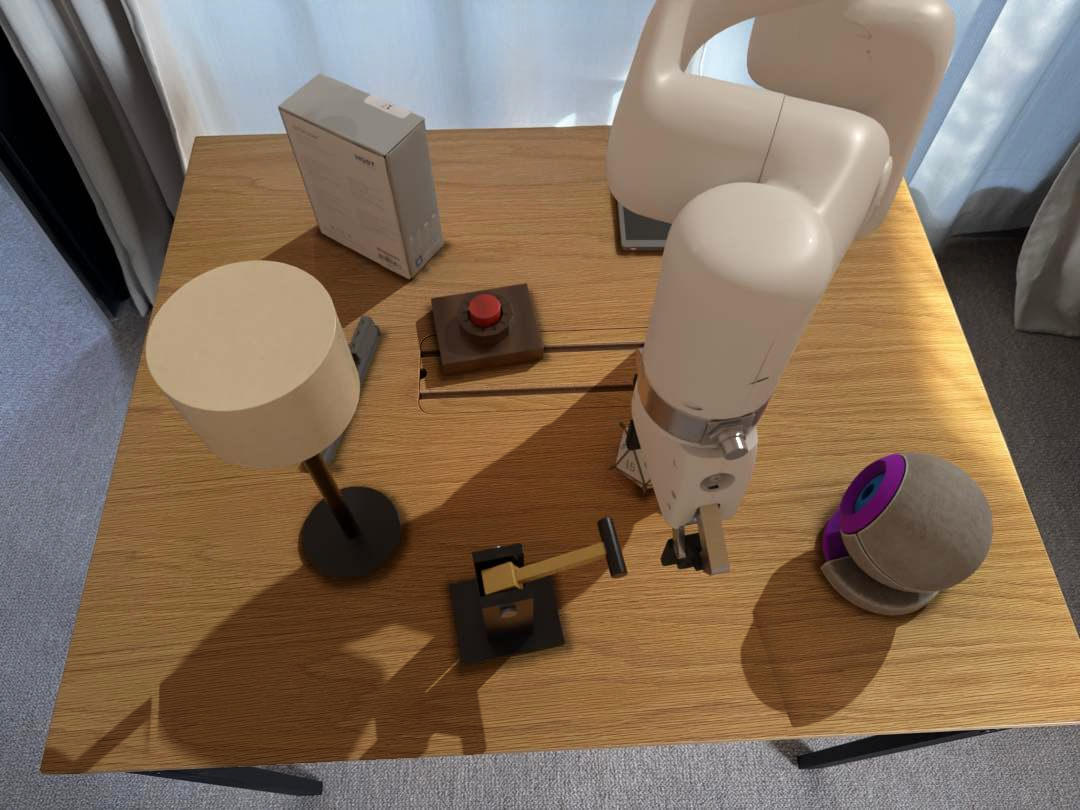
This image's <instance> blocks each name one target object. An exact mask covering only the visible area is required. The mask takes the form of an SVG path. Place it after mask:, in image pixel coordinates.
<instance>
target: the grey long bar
mask: <svg viewBox="0 0 1080 810" xmlns="http://www.w3.org/2000/svg"><path fill="white" fill-rule="evenodd" d="M381 337H382V333H381V329H380V327H379V325H377V324H376V323H375V321H374V320H373V318H372V317H371V316H368V315H362V314H361V316H360V318H359V321H358V323H357V326H356V328H355V331H354V333H353V335H352V338H351V340H350V343H349V344H348V346H349V349H350V352H351V355H352V357H353V360H354V363H355V366H356V369H357V371H358V375H359V380H360V389H361V387H362V385H363V382H364V380H365V378H366V374H367V372H368V369H369V366H370V364H371V361H372V359H373V356H374V354H375V352H376V349H377V346H378V343H379V341H380V338H381ZM344 432H345V430H344V431H343V432H342V434H341V435H340V436H339V437H338V438H337V439H336V440H335V441H334V442H333V443H332V444H330V445H329V446H328V447H327V448H325V449H324V450H323V451H321V452H320V453H321V455H322V457H323V459H324V461H325V463H326V465H327V467H328V468H329V465H330V464H332V463H333V460H334V458H335V455H336V452H337V450H338V447H339V445H340V442H341V439H342V437H343V435H344Z"/></svg>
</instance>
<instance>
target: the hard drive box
mask: <svg viewBox="0 0 1080 810" xmlns="http://www.w3.org/2000/svg"><path fill="white" fill-rule="evenodd" d="M277 108H278V109H277V110H278V112H279V115H280V117H281V121H282V124H283V127H284V129H285V132H286V135H287V138H288V141H289V144H290V147H291V151H292V154H293V155H294V158H295V161H296V164H297V167H298V170H299V173H300V176H301V179H302V182H303V186H304V187H305V191H306V194H307V196H308V200H309V202H310V206H311V208H312V211H313V214H314V218H315V219H316V223H317V226H318V228H319V231H320V233H321V234H323V235H325V236H327V237H328V238H330V239H331V240H333V241H335V242H337V243H339V244H341V245H342V246H344V247H347V248H349V249H351V250H352V251H355V252H357V253H358V254H360V255H362V256H363V257H366V258H368V259H369V260H372V261H373V262H375V263H377V264H379V265H381V266H382V267H384V268H386V269H387V270H389V271H391V272H394V273H395V274H397V275H399V276H402V277H403V278H405V279H407V280H411V279H413V278H414V277H415V276H416V275H417V274H418V273H419V272H420V271H421V270H422V269H423V268H424V267H425V266H426V264H427V263H428V262H429V261H430V260H431V259H432V258H433V257H434V256H435V255H436V254H437V253H438V252H439V251H440V249H441V248H442V247H443V246H444V245H445V242H444V235H443V229H442V223H441V217H440V216H441V215H440V210H439V204H438V203H439V202H438V198H437V197H438V196H437V191H436V184H435V178H434V172H433V166H432V159H431V152H430V146H429V140H428V133H427V126H426V117H424V116H423V115H419V114H417V113H415V112H413V111H411V110H408V109H406V108H403V107H402V106H399V105H397V104H394V103H392V102H389V101H387V100H386V99H382V98H380V97H378V96H376V95H374V94H371V93H369V92H366V91H364V90H362V89H359V88H357V87H355V86H352V85H350V84H348V83H345V82H343V81H340V80H338V79H336V78H334V77H331V76H329V75H328V74H327V75H326V74H325V73H322V72H319V73H318V74H316V75H315V76H314V77H313V78H311V79H310V80H309V81H308V82H306V83H305V84H304V85H302V87H300V88H299V89H298V90H297V91H295V92H294V93H292V94H291V95H290V96H289V97H288V98H286V99H285V100H284V101H283V102H281V103H280V104H279V105H278V106H277Z"/></svg>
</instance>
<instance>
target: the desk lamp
mask: <svg viewBox="0 0 1080 810" xmlns="http://www.w3.org/2000/svg"><path fill="white" fill-rule="evenodd" d="M145 341H146V342H145V360H146V366H147V368H148V371H149V374H150V376H151V378H152V379H153V381H154V382H155V384H156V385H157V387H158V388H159V389H160V390H161V392H162V393H163V394H164V396H165V397H166V398H167V400H168V401H169V402H170V403H171V405H172V406H173V407H174V408H175V410H176V411H177V412H178V413H179V414H180V416H181V417H182V418H183V420H184V421H185V422H186V423H187V425H188V426H189V427H190V429H191V430H192V431H193V432H194V433H195V435H196V436H197V437H198V439H199V440H200V441H201V443H202V444H203V445H204V446H205V447H206V448H207V449H208V450H209V451H210V452H211V453H212V454H213V455H215V457H217V458H219V459H220V460H222V461H224V462H226V463H228V464H230V465H232V466H233V465H234V466H235V467H239V468H244V469H250V470H276V469H282V468H287V467H291V466H293V465H297V464H299V463H302V464H303V465H304V467H305V469H306V470H307V472H308V474H309V476H310V478H311V479H312V481H313V482H314V484H315V486H316V488H317V490H318V491H319V493H320V495H321V496H322V499H321V500H319V501H318V503H317V504H315V506H314V507H313V508H312V509H311V511H310V512H309V514H308V516H307V518H306V520H305V522H304V526H303V530H302V545H303V550H304V552H305V555H306V557H307V559H308V561H309V562H310V563H311V564H312V566H313V567H314V568H315V569H316V570H318V571H319V572H320V573H322V574H323V575H325V576H327V577H328V578H332V579H336V580H341V581H352V580H358V579H362V578H365V577H368V576H371V575H372V574H375V573H376V572H377V571H379V570H380V569H382V568H383V567H384V566H385V565H386V564H388V562H389V561H390V560H391V559H392V557H393V556H394V554H395V553H396V551H397V549H398V547H399V545H400V542H401V538H402V530H403V529H402V520H401V516H400V513H399V511H398V509H397V507H396V505H395V504H394V502H393V501H392V500H391V499H390V498H389V497H388V496H387V495H386V494H384V493H383V492H382V491H379V490H377V489H374V488H372V487H367V486H348V487H343V488H339V486H338V484H337V482H336V479H334V476H333V474H332V473H331V471H330V469H329V466H328V467H327V465H328V464H327V465H326V463H325V461H324V459H323V457H322V455H321V453H320V452H321V451H323V450H324V449H325V448H327V447H328V446H329V445H330V444H332V443H333V442H334V441H335V440H336V439H337V438H338V437H339V436H340V435H341V434H342V432H343V431H344V432H345V430H346V429H347V427H348V426H349V424H350V423H351V421H352V419H353V417H354V415H355V413H356V410H357V409H358V408H357V407H358V404H359V400H360V394H361V388H360V380H359V375H358V371H357V369H356V366H355V363H354V360H353V357H352V355H351V352H350V349H349V344H348V341H347V339H346V336H345V332H344V330H343V327H342V324H341V322H340V319H339V316H338V313H337V310H336V308H335V305H334V302H333V299H332V297H331V295H330V294H329V292H328V291H327V289H326V288H325V287H324V285H323V284H322V283H321V282H320V281H319V280H318V279H316V277H314V276H313V275H311V274H310V273H308V272H306V271H305V270H303V269H300V268H299V267H297V266H295V265H291V264H288V263H284V262H279V261H276V260H275V261H273V260H244V261H237V262H232V263H228V264H225V265H221V266H217V267H214V268H213V269H209V270H208V271H205V272H204V273H202V274H200V275H197V276H196V277H194V278H192V279H191V280H189V281H187V282H185V284H184V285H182V286H180V287H179V288H178V289H177V290H176V291H174V293H173V294H171V295H170V296H169V297H168V298H167V299H166V301H165V302H164V303H163V304H162V305H161V306H160V308H159V309H158V311H157V313H156V314H155V316H154V317H153V320H152V322H151V323H150V326H149V329H148V332H147V336H146V339H145ZM344 432H343V433H344Z"/></svg>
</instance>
